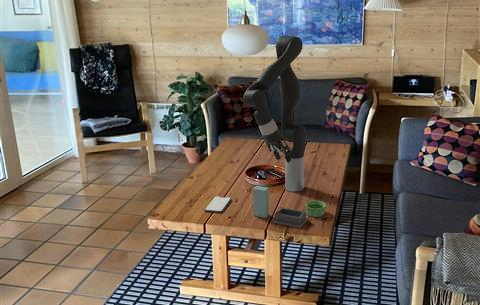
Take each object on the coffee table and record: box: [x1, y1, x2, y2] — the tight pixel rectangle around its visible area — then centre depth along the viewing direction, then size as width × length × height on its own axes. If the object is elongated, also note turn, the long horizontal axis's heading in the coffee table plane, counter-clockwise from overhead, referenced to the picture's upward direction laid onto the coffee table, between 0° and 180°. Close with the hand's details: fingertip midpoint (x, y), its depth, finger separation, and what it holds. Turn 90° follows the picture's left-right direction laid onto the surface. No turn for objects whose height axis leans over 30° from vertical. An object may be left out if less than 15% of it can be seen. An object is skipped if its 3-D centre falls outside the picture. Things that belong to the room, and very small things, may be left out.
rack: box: [271, 206, 309, 229], centre depth 224 cm, size 9×13×4 cm
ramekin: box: [305, 200, 327, 218], centre depth 231 cm, size 9×9×4 cm
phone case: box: [204, 195, 232, 214], centre depth 243 cm, size 9×2×16 cm
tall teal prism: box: [252, 185, 270, 219], centre depth 229 cm, size 4×6×13 cm, turn 61°
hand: (284, 160), depth 236 cm, fingers open, 8 cm apart
